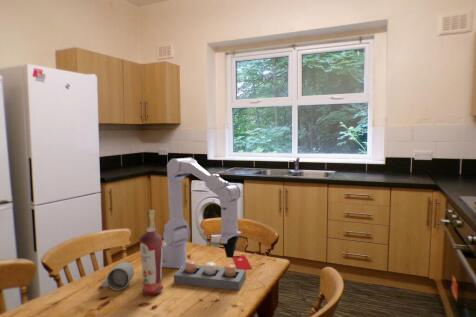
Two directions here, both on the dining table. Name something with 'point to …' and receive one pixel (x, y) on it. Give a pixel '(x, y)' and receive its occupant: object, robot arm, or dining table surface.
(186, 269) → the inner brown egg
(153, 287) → the liquor
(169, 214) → the robot arm
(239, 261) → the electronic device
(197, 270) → the grey egg tray
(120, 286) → the ceramic mug
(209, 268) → the white egg
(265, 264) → the dining table surface
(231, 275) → the light brown oval
